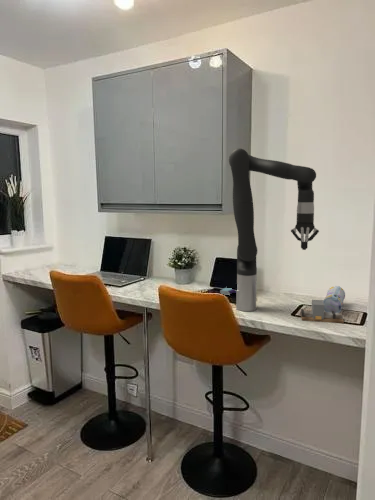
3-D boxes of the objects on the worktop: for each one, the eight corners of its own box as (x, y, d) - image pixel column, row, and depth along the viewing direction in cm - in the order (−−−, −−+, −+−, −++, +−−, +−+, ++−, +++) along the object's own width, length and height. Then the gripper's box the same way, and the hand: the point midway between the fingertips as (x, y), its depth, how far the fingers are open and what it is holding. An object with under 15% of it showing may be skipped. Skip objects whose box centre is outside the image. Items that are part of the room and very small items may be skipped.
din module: (312, 319, 157) (313, 304, 156) (311, 312, 165) (311, 299, 165) (323, 319, 156) (324, 305, 155) (321, 313, 164) (322, 300, 163)
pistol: (219, 296, 200) (228, 289, 213) (246, 299, 194) (254, 292, 207) (219, 289, 199) (228, 283, 213) (246, 292, 193) (254, 285, 206)
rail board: (301, 320, 158) (301, 313, 158) (300, 314, 167) (300, 307, 167) (343, 323, 154) (343, 316, 154) (340, 316, 163) (340, 310, 162)
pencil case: (341, 316, 163) (342, 296, 162) (321, 314, 167) (321, 293, 166) (345, 304, 182) (346, 285, 180) (326, 302, 186) (327, 284, 184)
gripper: (290, 212, 165) (289, 250, 167) (321, 212, 162) (319, 251, 164) (290, 212, 172) (289, 248, 175) (319, 212, 169) (318, 248, 171)
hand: (304, 249), depth 169 cm, fingers closed
